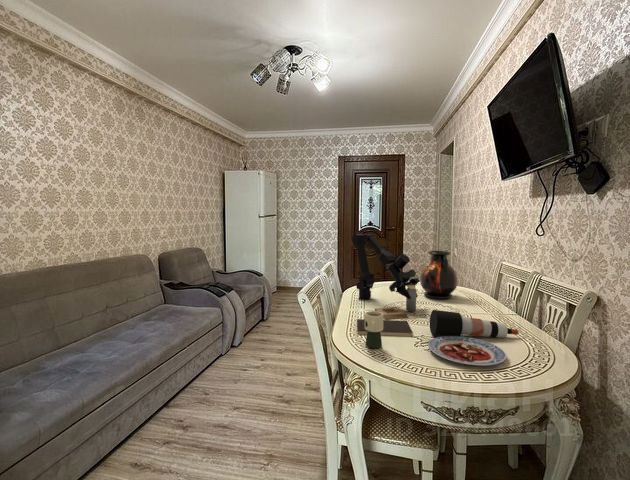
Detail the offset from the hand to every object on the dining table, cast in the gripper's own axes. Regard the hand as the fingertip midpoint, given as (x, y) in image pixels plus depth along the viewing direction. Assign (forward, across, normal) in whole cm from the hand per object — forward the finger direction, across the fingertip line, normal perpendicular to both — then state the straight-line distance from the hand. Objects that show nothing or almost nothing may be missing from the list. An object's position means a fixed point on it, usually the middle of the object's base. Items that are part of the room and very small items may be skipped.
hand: (413, 298), depth 172 cm
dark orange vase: (-2, +38, +13) cm, 40 cm away
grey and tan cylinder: (+4, 0, +6) cm, 7 cm away
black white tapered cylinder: (+31, -8, -20) cm, 38 cm away
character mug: (+19, -49, -8) cm, 53 cm away
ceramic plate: (+36, -27, -26) cm, 52 cm away
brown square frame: (+2, -12, +8) cm, 15 cm away
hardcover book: (+11, -31, 0) cm, 33 cm away
